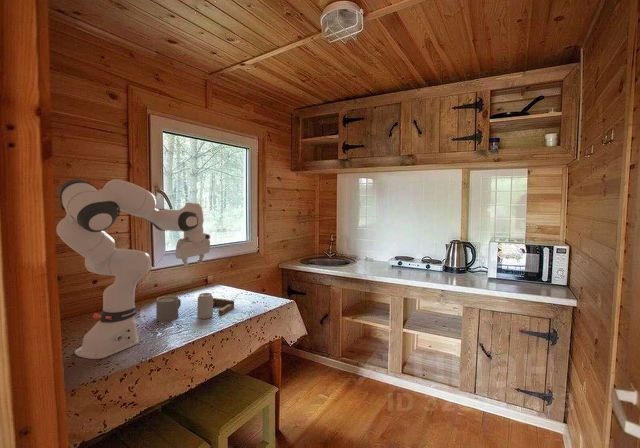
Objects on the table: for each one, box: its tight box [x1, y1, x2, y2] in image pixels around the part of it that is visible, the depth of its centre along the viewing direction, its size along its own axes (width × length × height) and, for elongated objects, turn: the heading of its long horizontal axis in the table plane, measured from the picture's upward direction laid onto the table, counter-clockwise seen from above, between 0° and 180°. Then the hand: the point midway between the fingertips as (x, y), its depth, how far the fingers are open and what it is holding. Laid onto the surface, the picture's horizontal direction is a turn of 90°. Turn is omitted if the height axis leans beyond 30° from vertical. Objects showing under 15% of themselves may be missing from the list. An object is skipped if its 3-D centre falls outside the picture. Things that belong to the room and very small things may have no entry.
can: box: [197, 292, 214, 320], centre depth 161 cm, size 8×8×12 cm
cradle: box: [213, 297, 235, 316], centre depth 172 cm, size 12×13×4 cm
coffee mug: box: [155, 295, 182, 323], centre depth 160 cm, size 13×10×10 cm
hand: (193, 264), depth 152 cm, fingers open, 8 cm apart
